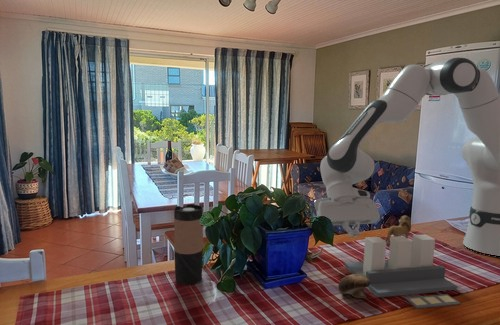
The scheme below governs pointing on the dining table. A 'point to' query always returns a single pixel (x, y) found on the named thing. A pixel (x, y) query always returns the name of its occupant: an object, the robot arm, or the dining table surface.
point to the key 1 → (374, 254)
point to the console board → (403, 279)
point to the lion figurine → (399, 229)
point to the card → (432, 301)
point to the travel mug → (188, 244)
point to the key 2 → (422, 251)
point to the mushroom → (354, 285)
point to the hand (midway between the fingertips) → (354, 236)
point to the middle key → (399, 252)
